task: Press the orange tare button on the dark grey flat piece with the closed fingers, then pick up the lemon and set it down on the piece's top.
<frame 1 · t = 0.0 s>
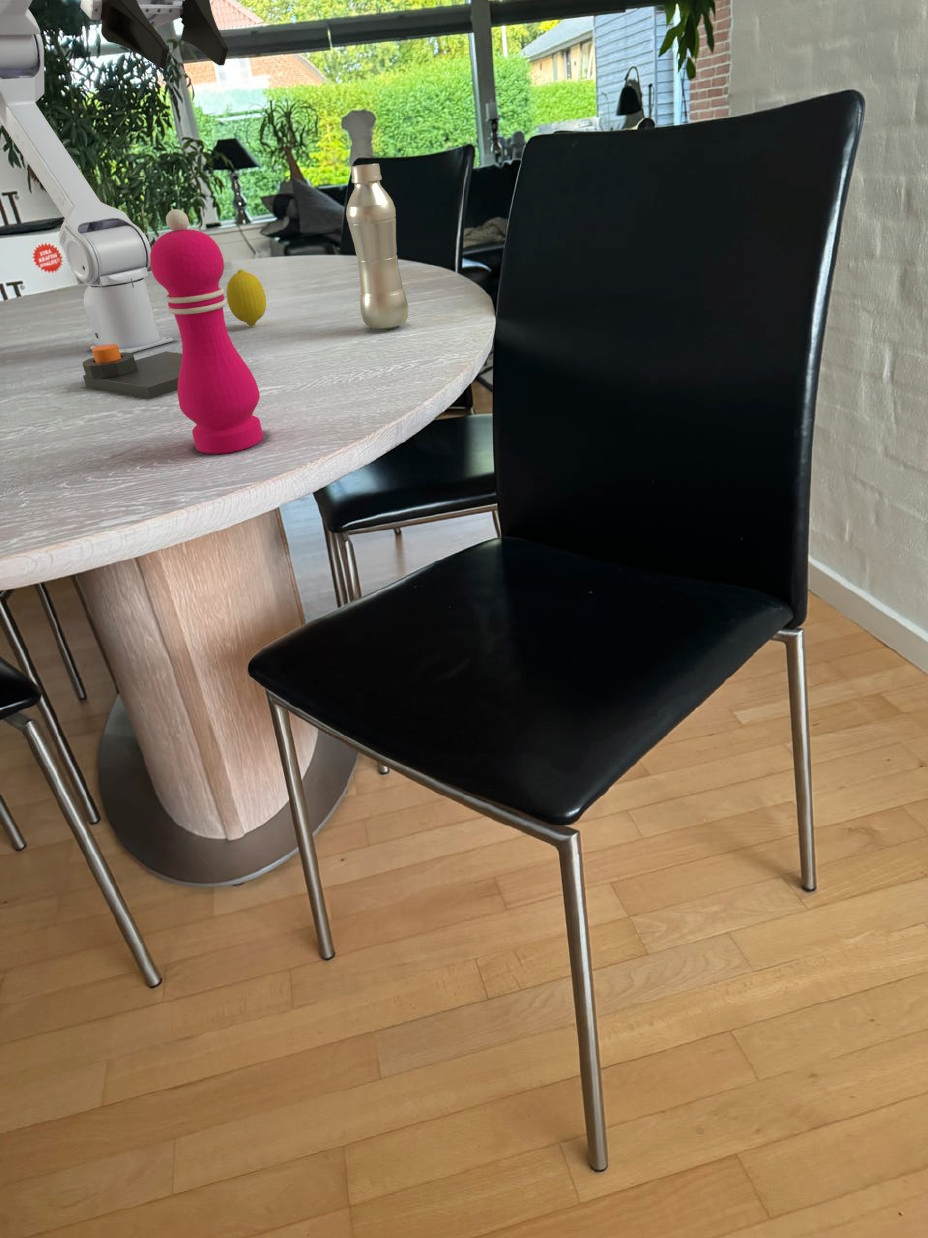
hand: (194, 57, 92), 32 cm above the table, tool tilted 50°, fingers open, 7 cm apart
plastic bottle: (387, 329, 119), on the table
pepper mill: (230, 444, 81), on the table
lemon: (252, 327, 129), on the table
tare button: (106, 354, 104), point 4 cm above the table, slide at 0.1 cm
dark grey flat piece: (160, 379, 106), on the table
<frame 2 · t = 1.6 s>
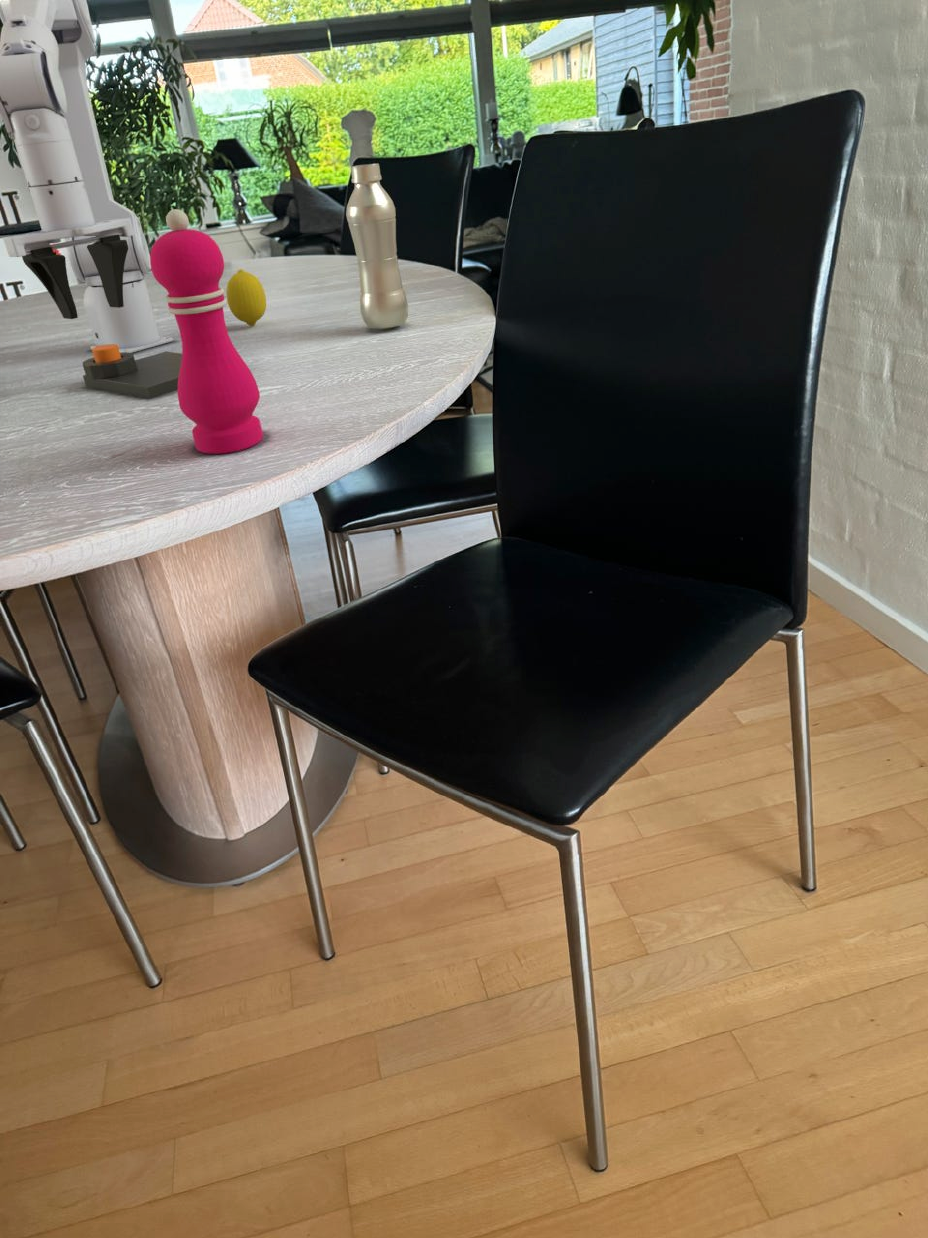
hand: (94, 312, 102), 8 cm above the table, tool pointing down, fingers open, 5 cm apart
nothing on the table moved.
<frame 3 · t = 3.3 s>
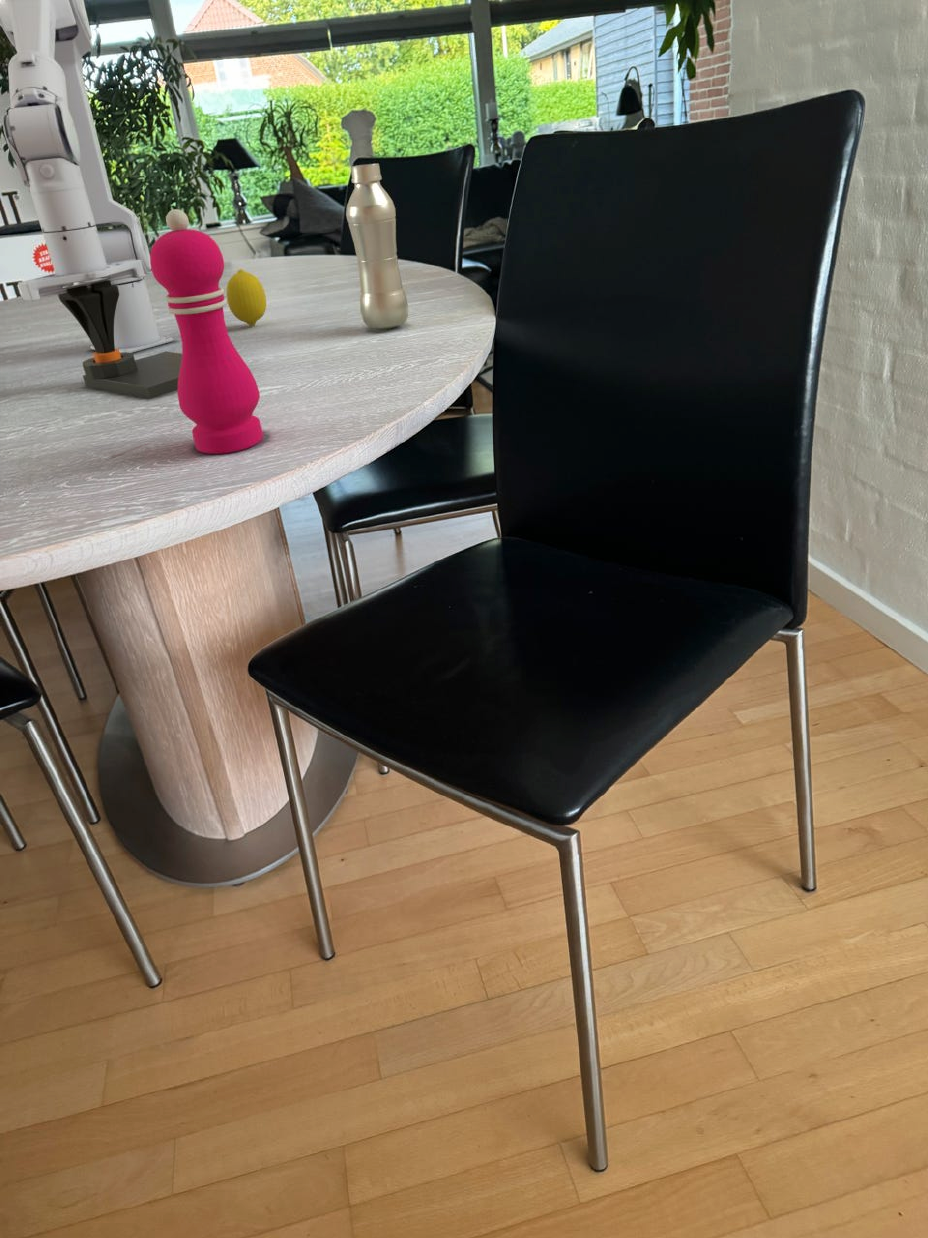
hand: (105, 351, 104), 4 cm above the table, tool pointing down, fingers closed, pressing on tare button
tare button: (108, 358, 105), point 3 cm above the table, slide at -0.4 cm, touching gripper
everything else where it was.
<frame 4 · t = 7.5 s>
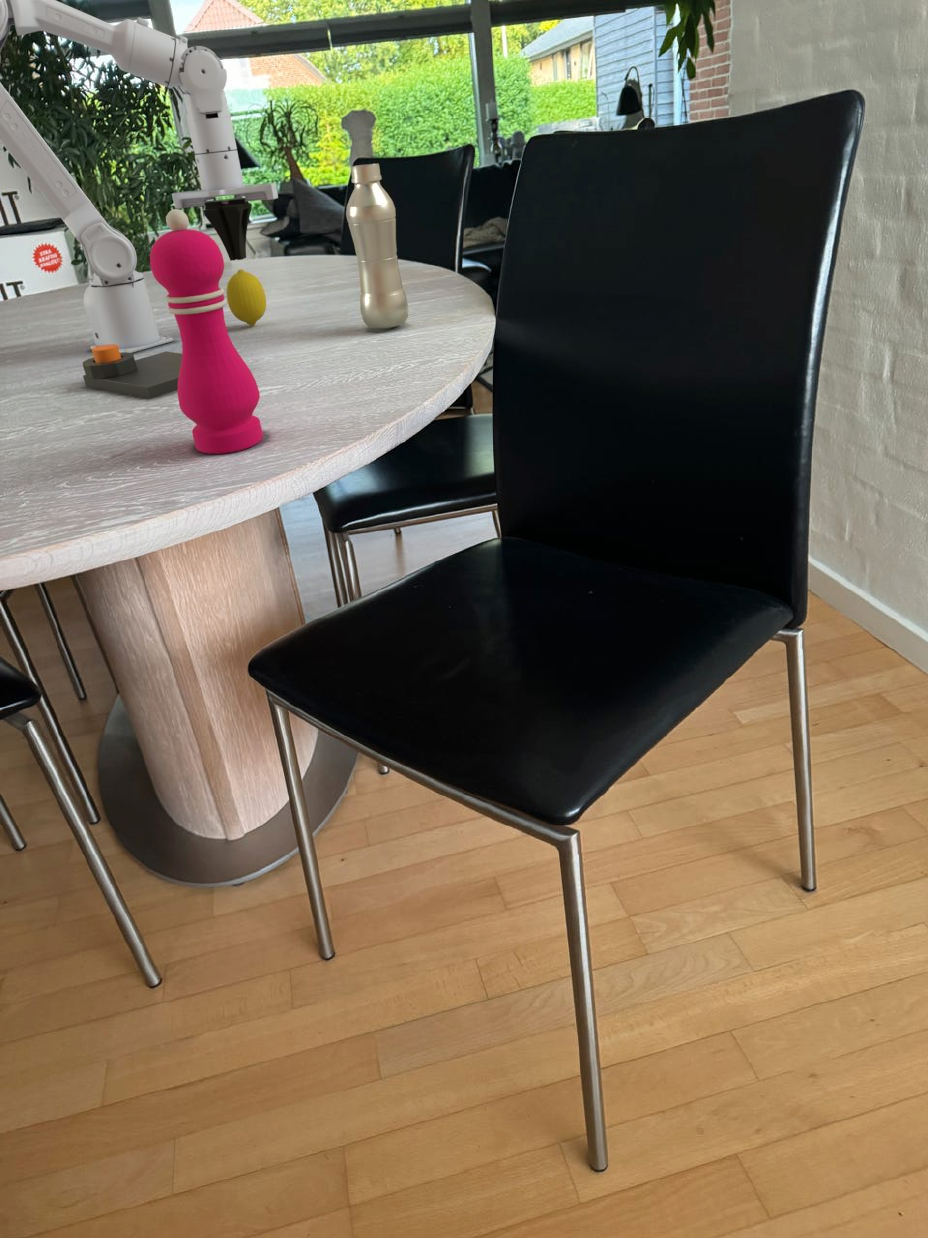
hand: (238, 259, 125), 9 cm above the table, tool pointing down, fingers closed
tare button: (106, 354, 104), point 3 cm above the table, slide at 0.1 cm
everything else where it was.
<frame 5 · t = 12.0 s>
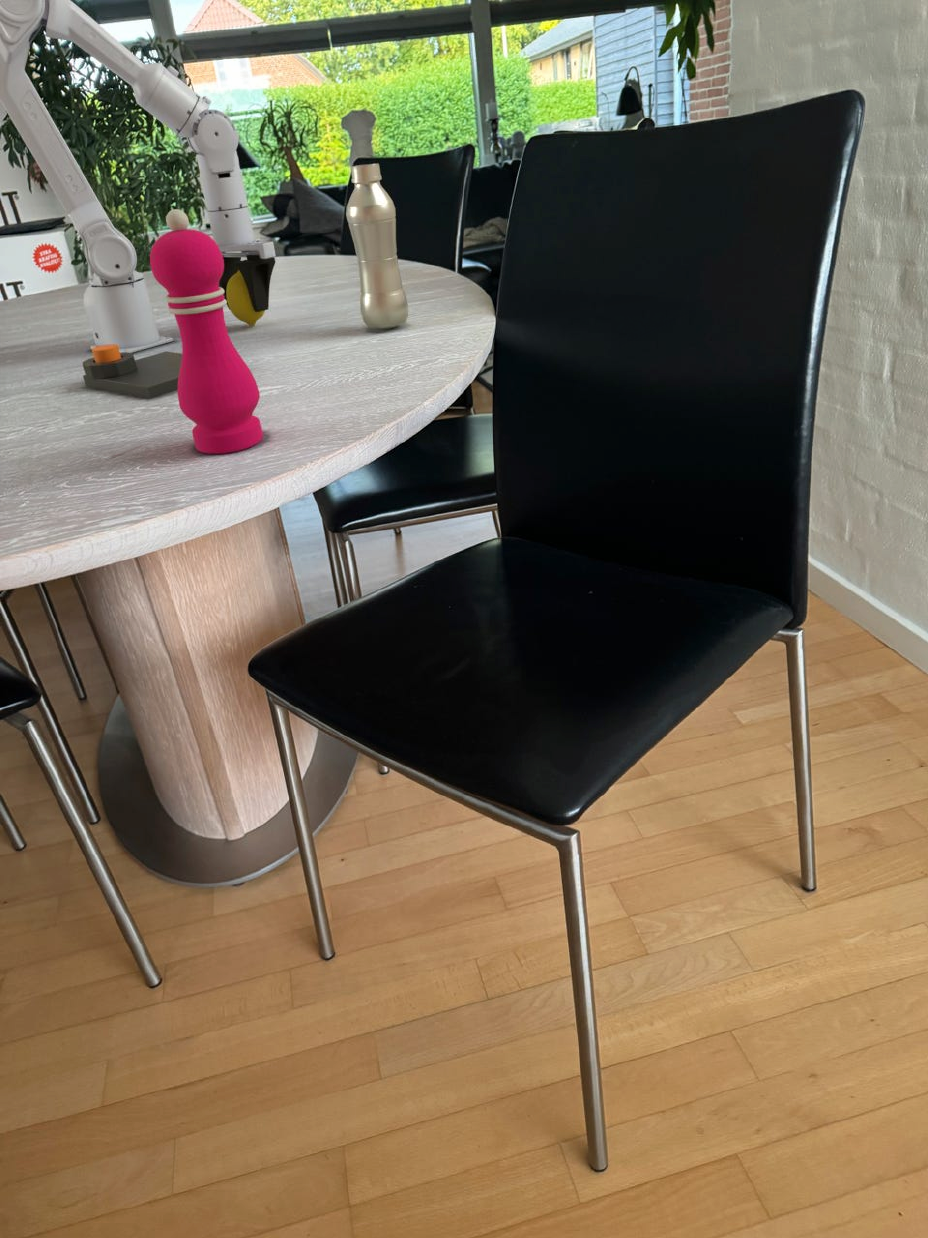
hand: (248, 309, 128), 2 cm above the table, tool pointing down, fingers closed on lemon, 5 cm apart
lemon: (252, 327, 129), on the table, touching gripper
everything else where it was.
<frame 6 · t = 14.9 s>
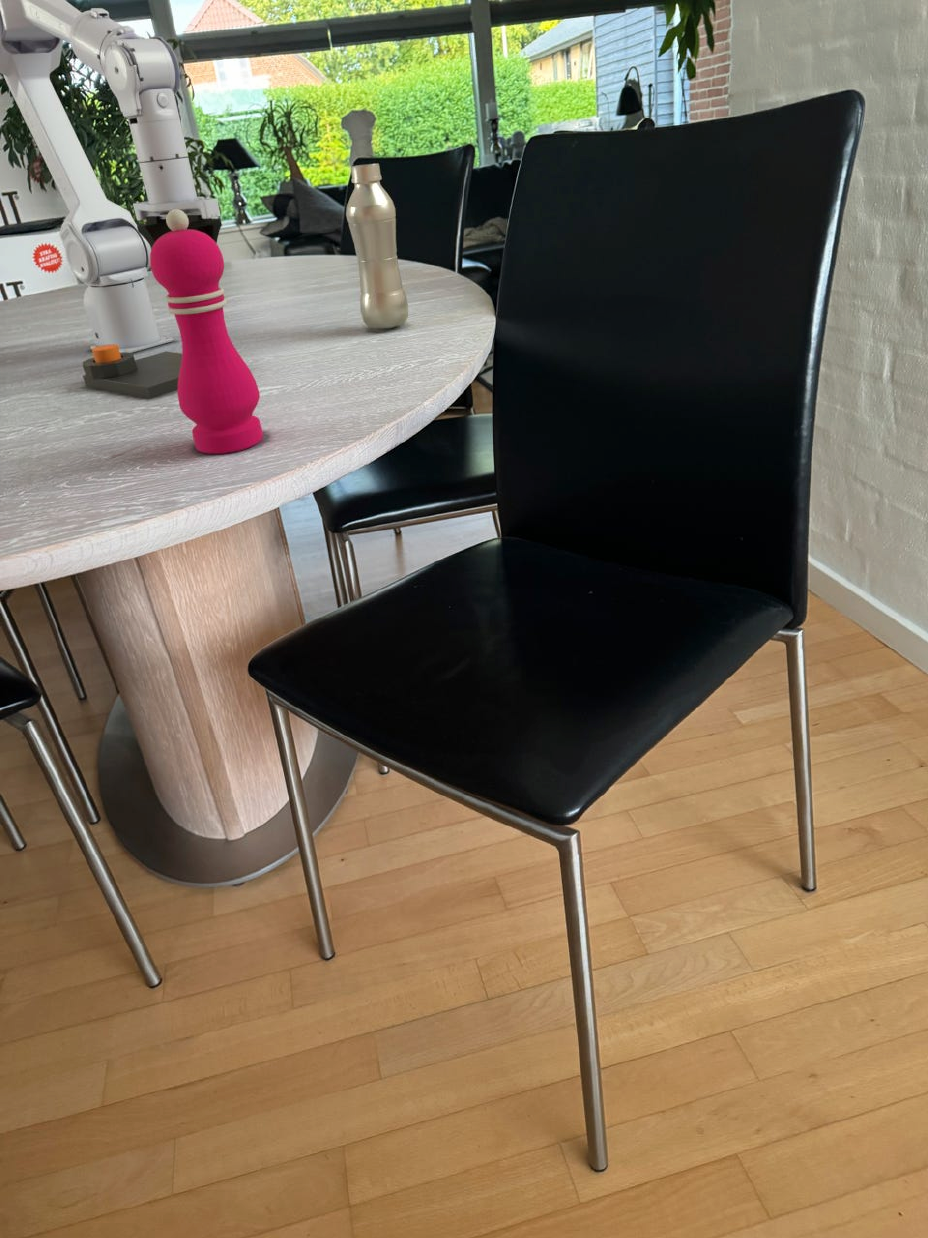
hand: (192, 281, 109), 9 cm above the table, tool pointing down, fingers closed on lemon, 5 cm apart
lemon: (197, 302, 110), point 7 cm above the table, touching gripper
everything else where it was.
when the fingers open (4 cm above the table, at t = 17.8 s): lemon stays where it is, resting on dark grey flat piece.
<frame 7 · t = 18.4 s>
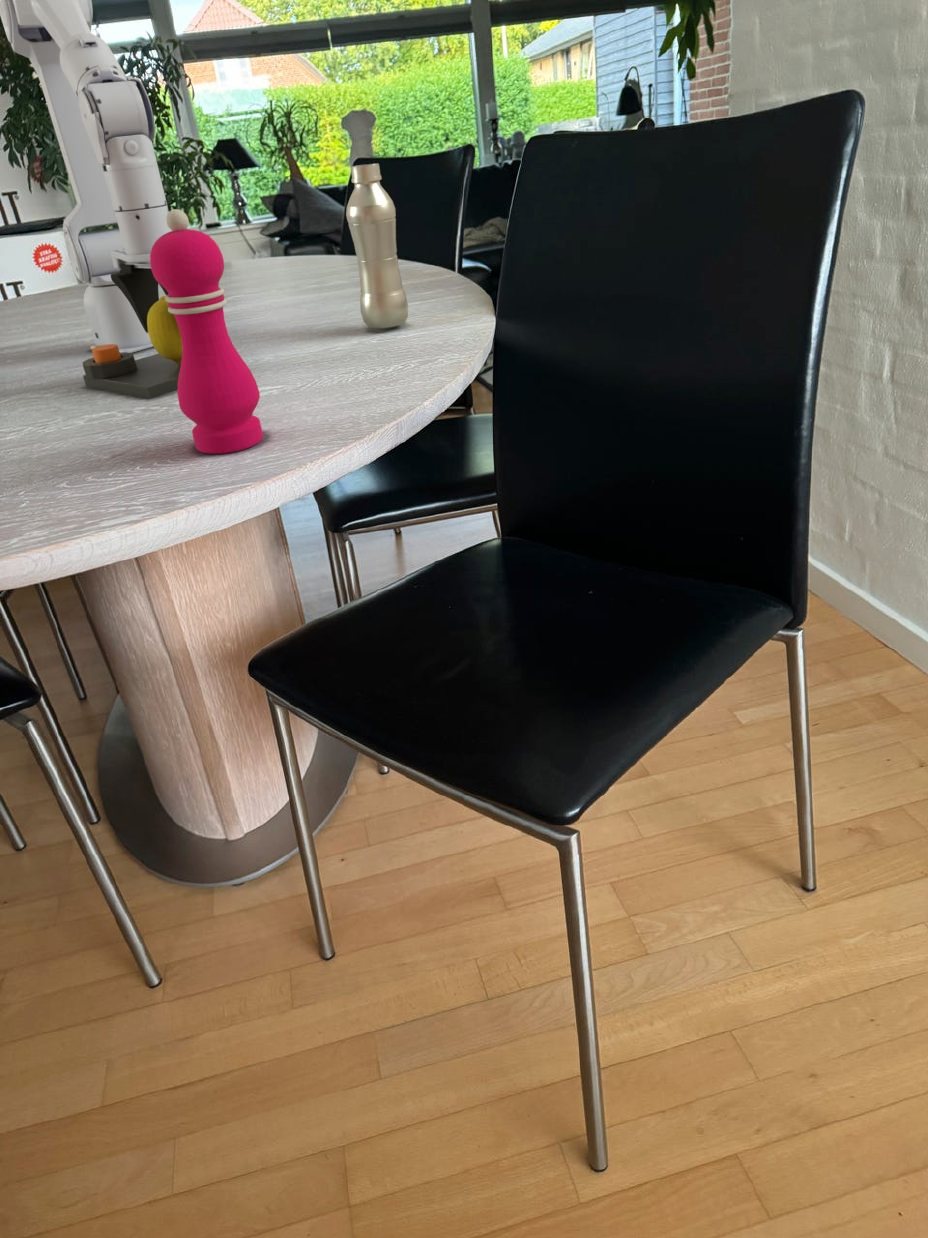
hand: (172, 333, 103), 5 cm above the table, tool pointing down, fingers open, 7 cm apart
lemon: (181, 366, 105), point 1 cm above the table, touching dark grey flat piece
everything else where it was.
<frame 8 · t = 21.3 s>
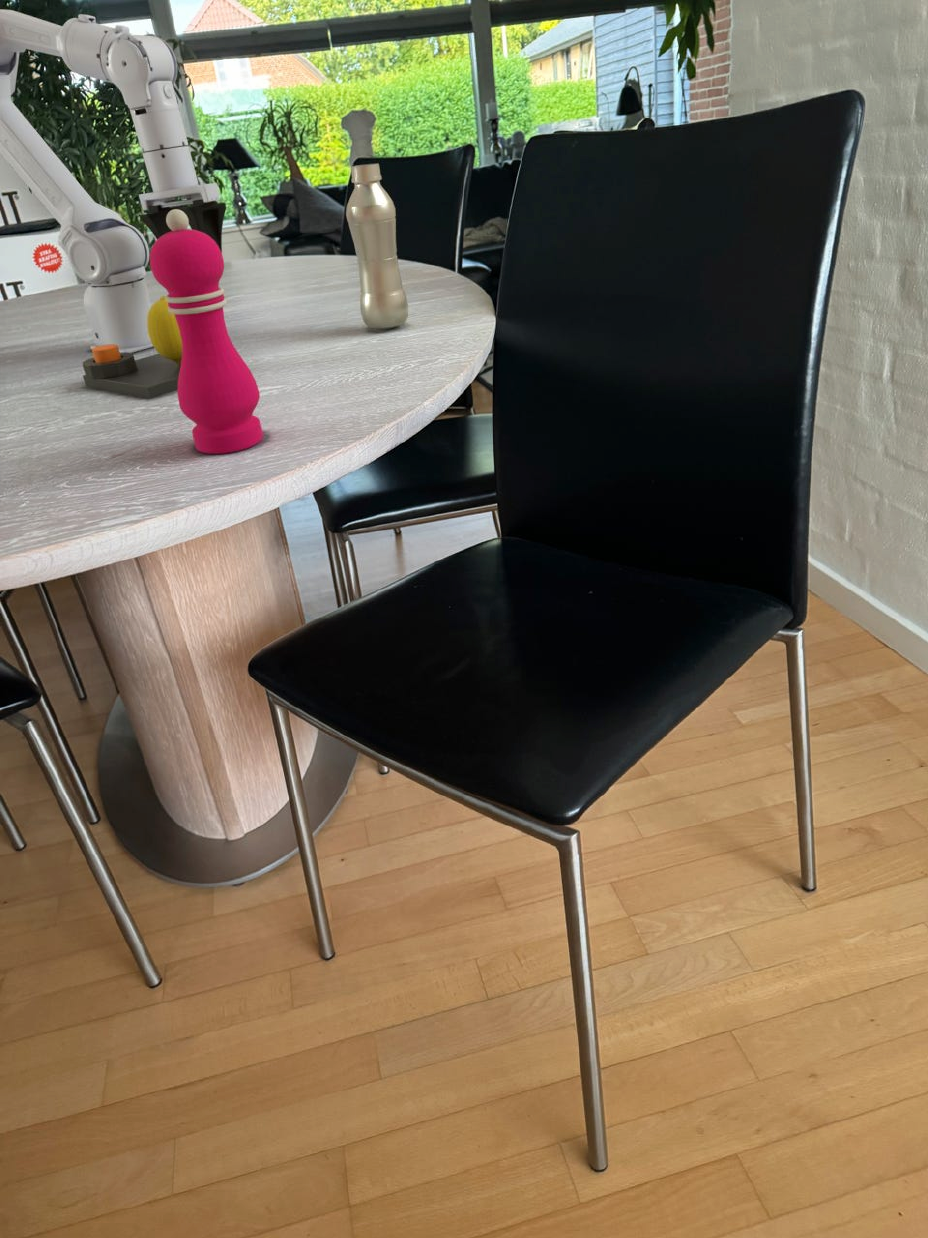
hand: (197, 265, 114), 10 cm above the table, tool pointing down, fingers open, 7 cm apart
nothing on the table moved.
at the end: tare button pushed in 1.0 cm at the most during the clip, back to where it started at the end; lemon inside the target area on the dark grey flat piece (2.1 cm from its centre), point 1.2 cm above the dark grey flat piece's base; lemon touching dark grey flat piece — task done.
